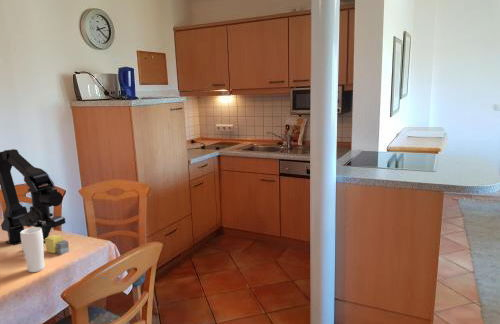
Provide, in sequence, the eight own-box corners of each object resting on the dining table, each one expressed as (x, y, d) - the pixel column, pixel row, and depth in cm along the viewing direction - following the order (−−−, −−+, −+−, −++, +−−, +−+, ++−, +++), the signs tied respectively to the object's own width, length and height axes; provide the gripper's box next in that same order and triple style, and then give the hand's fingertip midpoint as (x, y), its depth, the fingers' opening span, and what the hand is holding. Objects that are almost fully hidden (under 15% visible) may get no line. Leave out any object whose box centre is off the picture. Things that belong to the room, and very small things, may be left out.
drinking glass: (37, 274, 128) (31, 234, 125) (21, 273, 129) (15, 233, 127) (51, 265, 135) (46, 227, 132) (35, 264, 136) (30, 226, 133)
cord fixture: (27, 249, 149) (25, 239, 149) (39, 244, 154) (38, 234, 154) (59, 255, 143) (58, 245, 142) (71, 250, 148) (69, 240, 147)
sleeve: (46, 251, 146) (44, 238, 145) (56, 247, 150) (54, 234, 149) (54, 253, 144) (52, 239, 143) (63, 248, 148) (62, 235, 147)
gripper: (4, 206, 142) (10, 243, 144) (39, 211, 135) (44, 250, 138) (31, 198, 152) (35, 233, 155) (64, 203, 145) (68, 239, 148)
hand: (45, 239), depth 148 cm, fingers closed
